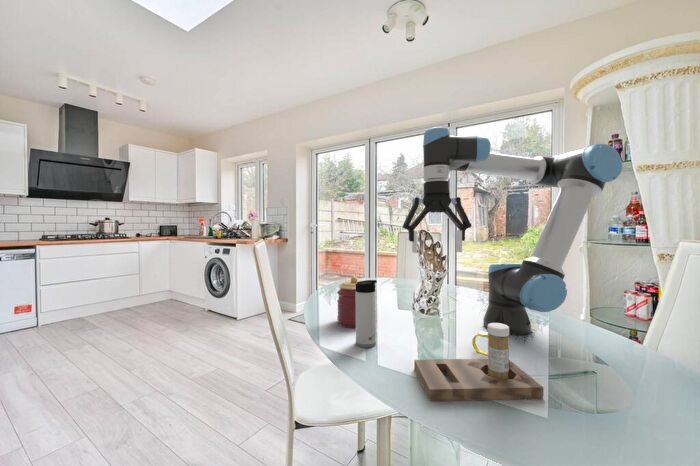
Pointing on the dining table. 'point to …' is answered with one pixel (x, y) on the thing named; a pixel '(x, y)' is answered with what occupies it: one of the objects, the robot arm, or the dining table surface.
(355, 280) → the canister
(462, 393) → the socket plate
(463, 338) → the dining table surface
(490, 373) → the sprinkles bottle
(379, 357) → the dining table surface
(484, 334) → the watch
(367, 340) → the travel mug
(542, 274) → the robot arm
